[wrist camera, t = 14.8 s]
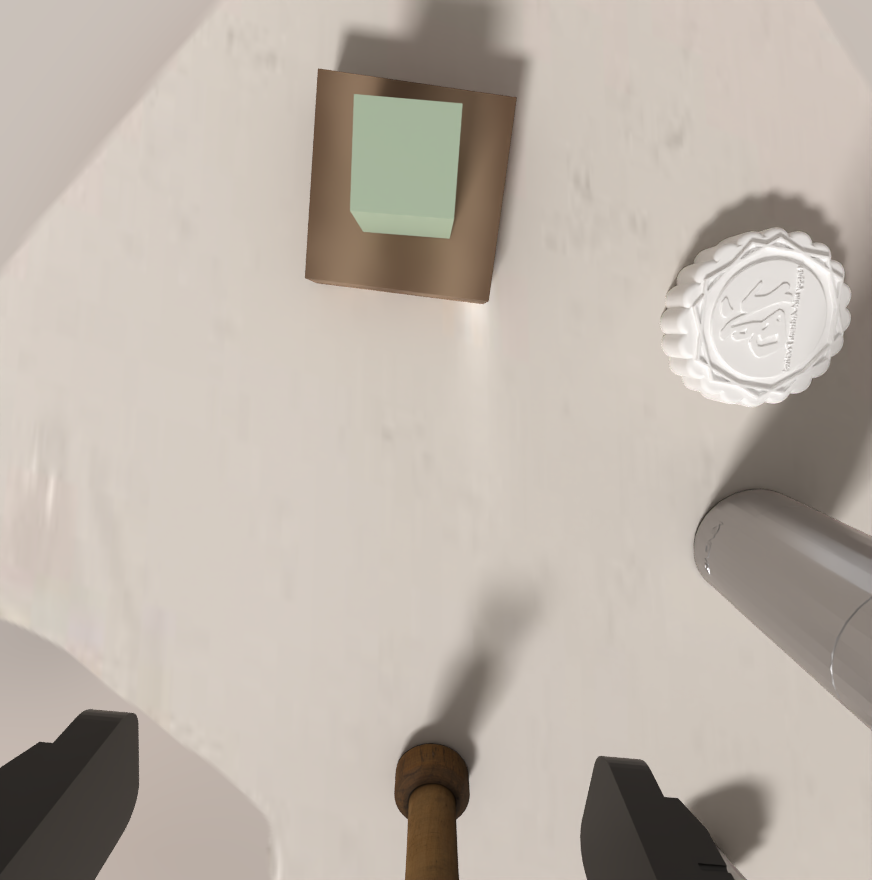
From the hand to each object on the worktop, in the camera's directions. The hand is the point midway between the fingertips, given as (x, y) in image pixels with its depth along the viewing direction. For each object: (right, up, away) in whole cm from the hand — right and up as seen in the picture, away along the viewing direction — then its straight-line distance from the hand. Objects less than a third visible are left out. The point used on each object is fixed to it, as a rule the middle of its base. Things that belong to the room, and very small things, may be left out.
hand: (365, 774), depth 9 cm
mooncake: (+24, +15, +28) cm, 40 cm away
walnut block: (-1, +22, +26) cm, 35 cm away
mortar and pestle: (+1, -24, +36) cm, 44 cm away
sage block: (0, +21, +22) cm, 31 cm away
